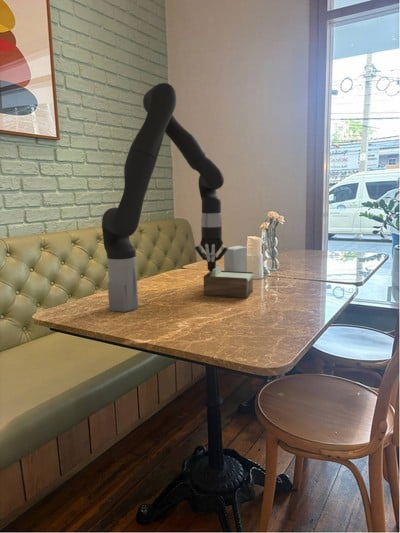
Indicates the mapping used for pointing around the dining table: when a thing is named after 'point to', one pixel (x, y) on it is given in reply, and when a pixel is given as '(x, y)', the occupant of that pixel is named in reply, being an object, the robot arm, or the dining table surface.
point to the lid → (230, 274)
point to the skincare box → (236, 259)
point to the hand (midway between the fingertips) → (211, 271)
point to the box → (227, 286)
